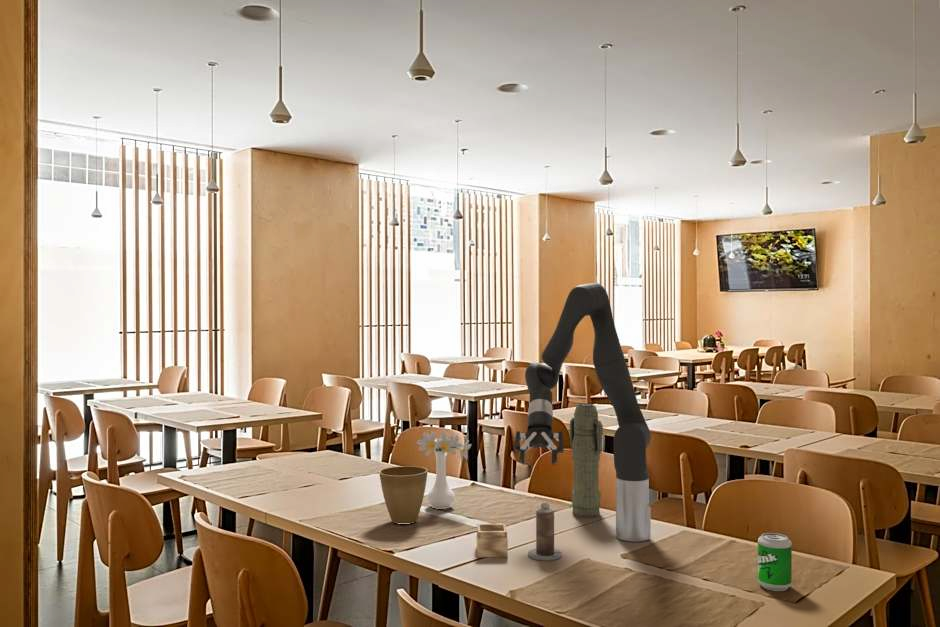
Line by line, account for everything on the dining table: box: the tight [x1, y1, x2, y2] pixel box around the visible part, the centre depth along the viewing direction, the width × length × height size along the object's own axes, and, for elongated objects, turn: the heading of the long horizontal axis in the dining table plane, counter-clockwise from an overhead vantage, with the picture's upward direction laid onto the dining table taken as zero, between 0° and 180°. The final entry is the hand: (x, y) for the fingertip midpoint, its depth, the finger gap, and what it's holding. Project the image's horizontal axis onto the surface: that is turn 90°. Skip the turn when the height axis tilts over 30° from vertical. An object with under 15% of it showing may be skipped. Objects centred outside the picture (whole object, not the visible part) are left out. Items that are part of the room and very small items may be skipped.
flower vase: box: [416, 430, 472, 510], centre depth 261 cm, size 13×18×25 cm
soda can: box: [757, 532, 793, 592], centre depth 187 cm, size 8×8×12 cm
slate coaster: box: [527, 548, 563, 562], centre depth 211 cm, size 9×9×1 cm
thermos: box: [569, 403, 604, 518], centre depth 252 cm, size 9×12×35 cm
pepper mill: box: [535, 501, 555, 556], centre depth 211 cm, size 5×5×14 cm
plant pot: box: [378, 465, 428, 523], centre depth 244 cm, size 15×15×16 cm
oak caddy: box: [476, 523, 509, 558], centre depth 214 cm, size 8×9×6 cm
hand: (538, 463), depth 226 cm, fingers open, 8 cm apart
